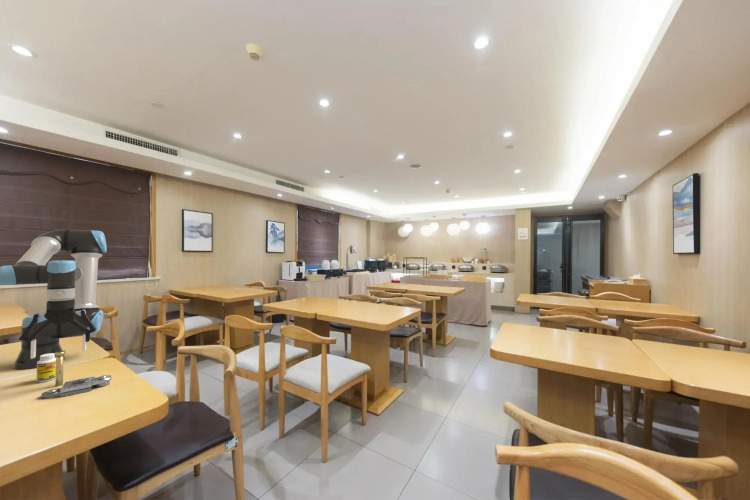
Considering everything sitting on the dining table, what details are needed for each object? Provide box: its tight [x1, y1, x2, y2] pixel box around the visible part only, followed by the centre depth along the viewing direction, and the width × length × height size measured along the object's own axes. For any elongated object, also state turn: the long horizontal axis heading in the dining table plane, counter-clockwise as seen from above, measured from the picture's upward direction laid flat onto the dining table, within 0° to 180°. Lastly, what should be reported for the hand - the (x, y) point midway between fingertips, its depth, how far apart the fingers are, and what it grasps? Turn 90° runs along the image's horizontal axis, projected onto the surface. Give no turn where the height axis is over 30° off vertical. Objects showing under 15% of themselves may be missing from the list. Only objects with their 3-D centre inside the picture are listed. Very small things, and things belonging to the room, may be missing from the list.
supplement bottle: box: [36, 353, 56, 383], centre depth 117 cm, size 6×6×10 cm
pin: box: [54, 350, 67, 387], centre depth 112 cm, size 3×3×13 cm
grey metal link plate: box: [40, 374, 112, 400], centre depth 109 cm, size 8×18×3 cm, turn 129°
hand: (59, 353), depth 112 cm, fingers open, 13 cm apart
